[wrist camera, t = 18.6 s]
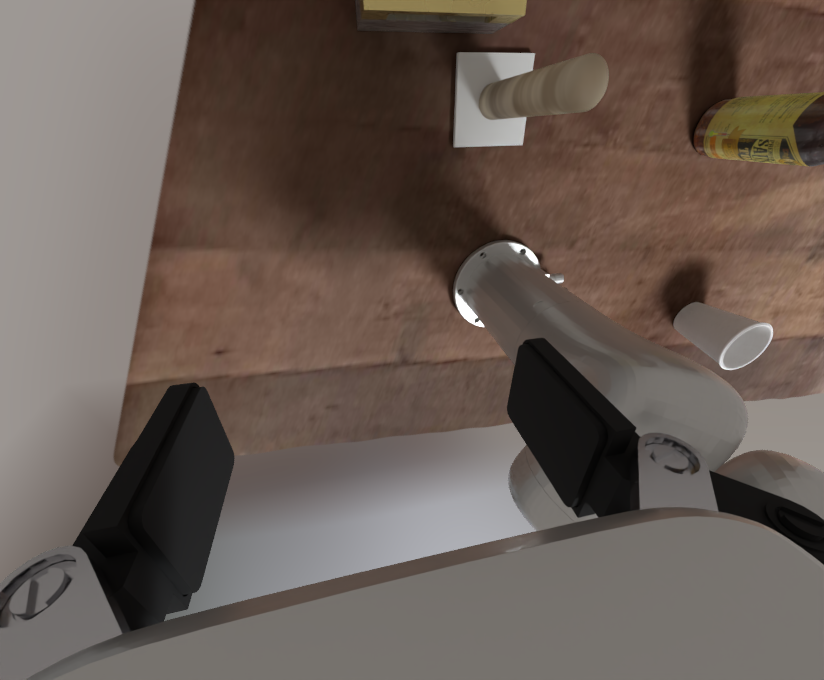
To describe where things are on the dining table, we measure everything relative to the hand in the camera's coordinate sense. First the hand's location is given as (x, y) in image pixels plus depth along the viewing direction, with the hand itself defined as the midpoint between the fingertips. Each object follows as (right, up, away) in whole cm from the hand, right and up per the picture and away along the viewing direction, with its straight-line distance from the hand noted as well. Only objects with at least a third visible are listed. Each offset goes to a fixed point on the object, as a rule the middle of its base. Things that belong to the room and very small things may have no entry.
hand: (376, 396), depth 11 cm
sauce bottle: (+39, +28, +32) cm, 58 cm away
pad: (+9, +27, +26) cm, 38 cm away
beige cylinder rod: (+10, +27, +25) cm, 38 cm away
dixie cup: (+49, +6, +49) cm, 70 cm away
